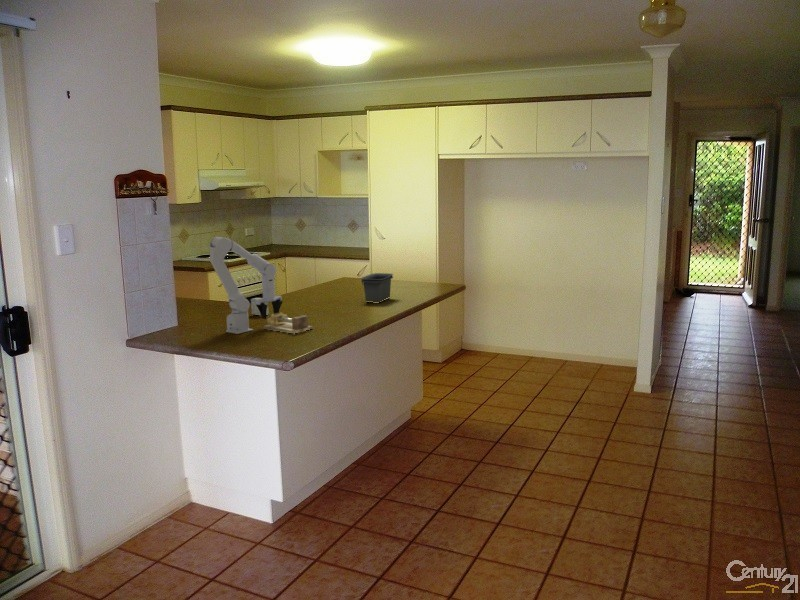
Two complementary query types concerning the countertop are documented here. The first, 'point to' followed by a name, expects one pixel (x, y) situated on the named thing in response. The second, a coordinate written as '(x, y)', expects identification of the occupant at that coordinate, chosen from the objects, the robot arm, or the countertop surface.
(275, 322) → the wing nut
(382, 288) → the storage bin
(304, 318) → the beige blocky piece
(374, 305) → the countertop surface
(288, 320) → the threaded rod
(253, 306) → the medicine box
